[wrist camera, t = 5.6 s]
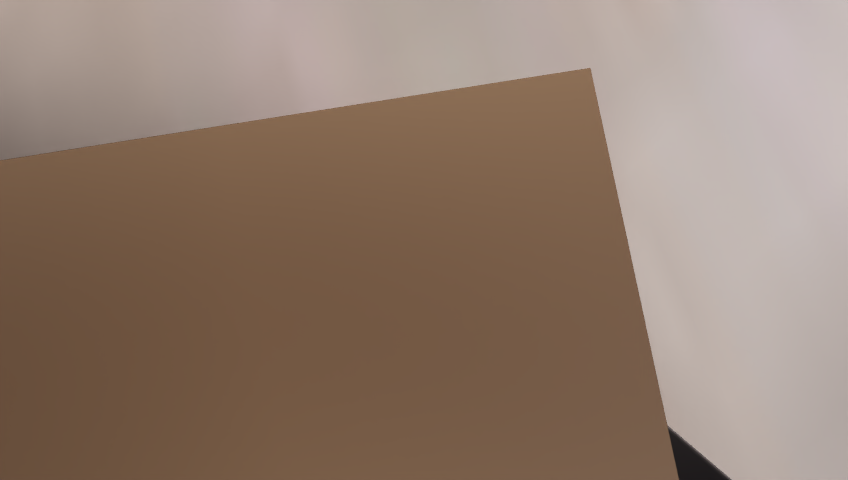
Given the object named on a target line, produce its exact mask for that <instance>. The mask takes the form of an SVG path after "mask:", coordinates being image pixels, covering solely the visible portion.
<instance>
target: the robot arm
mask: <svg viewBox="0 0 848 480" xmlns="http://www.w3.org/2000/svg"><path fill="white" fill-rule="evenodd" d="M667 427H668V431H669V436H670V441H671V445H672V450H673V455H674V459H675V464H676V468H677V473H678V478H679V480H731V479H730V478H729V477H728V476H727V475H725V474H724V473H723V472H722V471H721V470H719V469H718V468H717V467H716V466H715V465H713V464H712V463H711V462H710V461H709V460H708V459H706V458H705V457H704V456H703V455H702V454H700V453H699V452H698V451H697V450H696V449H695V448H693V447H692V446H691V445H690V444H689V443H687V442H686V441H685V440H684V439H683V438H682V437H680V436H679V435H678V434H677V433H676V432H674V431H673V430H672V429H671V428H670V427H669V426H667Z"/></svg>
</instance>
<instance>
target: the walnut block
mask: <svg viewBox="0 0 848 480" xmlns="http://www.w3.org/2000/svg"><path fill="white" fill-rule="evenodd" d="M0 480H679V478H678V473H677V468H676V464H675V459H674V455H673V450H672V445H671V441H670V436H669V431H668V427H667V422H666V417H665V413H664V408H663V403H662V399H661V394H660V390H659V385H658V380H657V376H656V371H655V366H654V362H653V357H652V352H651V348H650V343H649V338H648V334H647V329H646V325H645V320H644V315H643V311H642V306H641V301H640V297H639V292H638V287H637V283H636V278H635V273H634V269H633V264H632V260H631V255H630V250H629V246H628V241H627V236H626V232H625V227H624V222H623V218H622V213H621V208H620V204H619V199H618V195H617V190H616V185H615V181H614V176H613V171H612V167H611V162H610V157H609V153H608V148H607V143H606V139H605V134H604V130H603V125H602V120H601V116H600V111H599V106H598V102H597V97H596V92H595V88H594V83H593V78H592V74H591V69H590V68H587V69H581V70H574V71H568V72H562V73H555V74H549V75H542V76H536V77H530V78H523V79H517V80H511V81H504V82H498V83H491V84H485V85H479V86H472V87H466V88H459V89H453V90H447V91H440V92H434V93H428V94H421V95H415V96H408V97H402V98H396V99H389V100H383V101H377V102H370V103H364V104H357V105H351V106H345V107H338V108H332V109H326V110H319V111H313V112H306V113H300V114H294V115H287V116H281V117H275V118H268V119H262V120H255V121H249V122H243V123H236V124H230V125H224V126H217V127H211V128H204V129H198V130H192V131H185V132H179V133H173V134H166V135H160V136H153V137H147V138H141V139H134V140H128V141H122V142H115V143H109V144H102V145H96V146H90V147H83V148H77V149H71V150H64V151H58V152H51V153H45V154H39V155H32V156H26V157H19V158H13V159H7V160H0Z"/></svg>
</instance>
